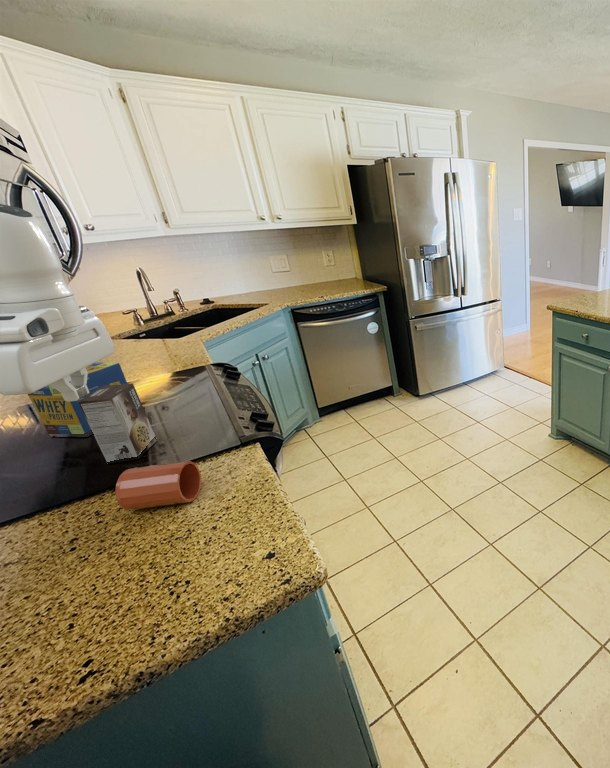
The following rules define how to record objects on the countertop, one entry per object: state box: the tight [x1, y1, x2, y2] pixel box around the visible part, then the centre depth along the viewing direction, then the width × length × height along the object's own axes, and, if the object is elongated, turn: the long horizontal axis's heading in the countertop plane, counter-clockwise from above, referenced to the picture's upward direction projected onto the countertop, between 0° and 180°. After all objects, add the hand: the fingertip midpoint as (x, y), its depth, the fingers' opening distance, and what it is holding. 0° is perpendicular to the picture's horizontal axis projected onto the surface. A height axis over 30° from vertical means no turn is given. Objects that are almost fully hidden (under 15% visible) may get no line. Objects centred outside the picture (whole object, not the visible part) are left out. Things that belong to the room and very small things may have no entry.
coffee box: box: [78, 382, 156, 463], centre depth 94 cm, size 9×6×16 cm
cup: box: [115, 460, 202, 511], centre depth 79 cm, size 8×8×10 cm
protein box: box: [27, 361, 128, 435], centre depth 108 cm, size 10×15×16 cm
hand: (78, 397), depth 68 cm, fingers closed
